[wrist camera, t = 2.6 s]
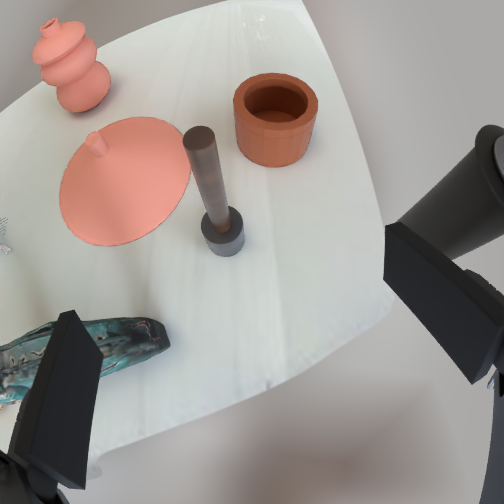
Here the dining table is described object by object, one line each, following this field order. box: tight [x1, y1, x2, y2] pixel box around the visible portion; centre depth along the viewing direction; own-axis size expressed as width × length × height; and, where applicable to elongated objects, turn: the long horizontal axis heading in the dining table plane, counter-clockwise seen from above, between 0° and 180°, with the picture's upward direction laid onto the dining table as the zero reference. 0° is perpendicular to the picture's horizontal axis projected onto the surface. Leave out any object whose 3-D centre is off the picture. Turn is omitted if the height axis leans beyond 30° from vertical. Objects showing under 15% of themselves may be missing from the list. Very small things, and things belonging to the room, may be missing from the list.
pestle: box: [183, 126, 244, 257], centre depth 27 cm, size 4×4×20 cm
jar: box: [233, 73, 318, 167], centre depth 37 cm, size 10×10×8 cm
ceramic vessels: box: [32, 18, 191, 246], centre depth 32 cm, size 35×21×19 cm, turn 31°
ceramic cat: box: [0, 317, 170, 405], centre depth 23 cm, size 20×6×20 cm, turn 112°
